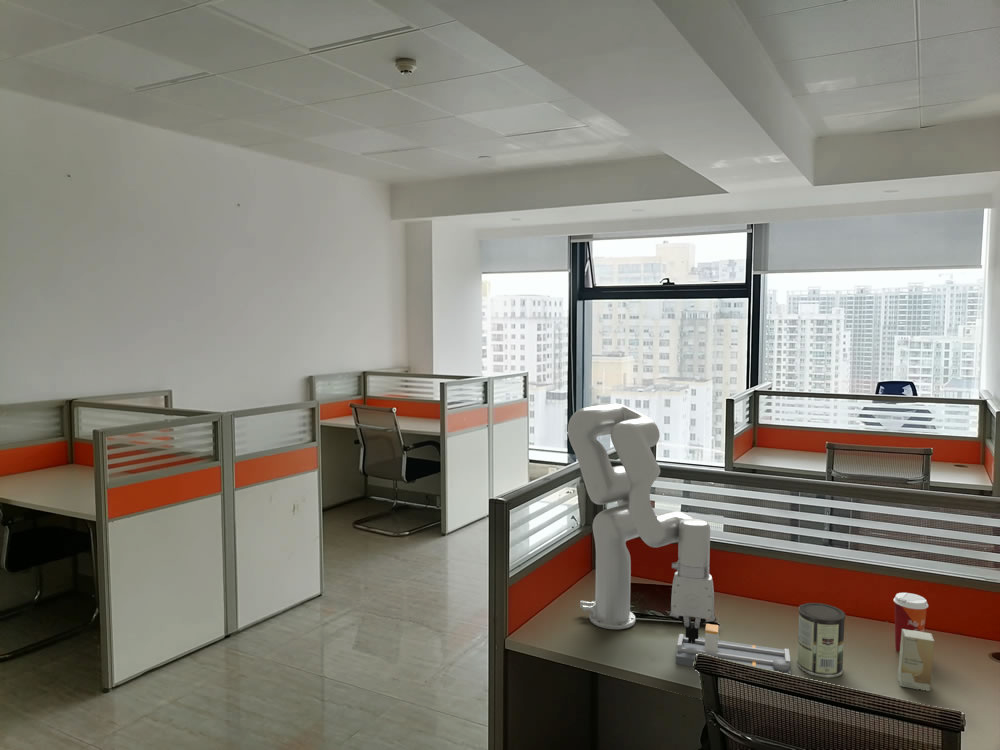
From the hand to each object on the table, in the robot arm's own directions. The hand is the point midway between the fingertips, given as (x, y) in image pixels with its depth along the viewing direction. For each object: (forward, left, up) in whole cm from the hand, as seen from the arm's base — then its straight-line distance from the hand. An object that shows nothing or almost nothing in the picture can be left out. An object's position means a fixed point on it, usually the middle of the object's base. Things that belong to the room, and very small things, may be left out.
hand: (691, 640), depth 183 cm
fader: (+5, 0, -2) cm, 5 cm away
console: (+10, 0, -4) cm, 10 cm away
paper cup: (+52, +20, -4) cm, 55 cm away
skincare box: (+50, +2, -4) cm, 50 cm away
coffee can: (+30, +4, -4) cm, 30 cm away
